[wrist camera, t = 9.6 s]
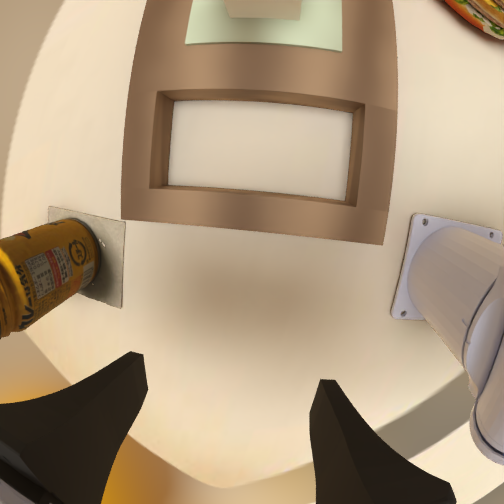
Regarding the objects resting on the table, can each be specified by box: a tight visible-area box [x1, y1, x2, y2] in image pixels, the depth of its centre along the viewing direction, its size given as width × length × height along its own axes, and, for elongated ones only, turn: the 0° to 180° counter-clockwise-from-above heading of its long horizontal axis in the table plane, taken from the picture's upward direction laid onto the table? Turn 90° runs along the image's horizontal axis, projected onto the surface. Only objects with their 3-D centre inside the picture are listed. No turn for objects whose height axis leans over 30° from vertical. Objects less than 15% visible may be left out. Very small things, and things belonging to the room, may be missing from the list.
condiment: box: [0, 206, 125, 339], centre depth 16 cm, size 7×8×12 cm
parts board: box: [121, 0, 398, 245], centre depth 15 cm, size 16×20×3 cm
